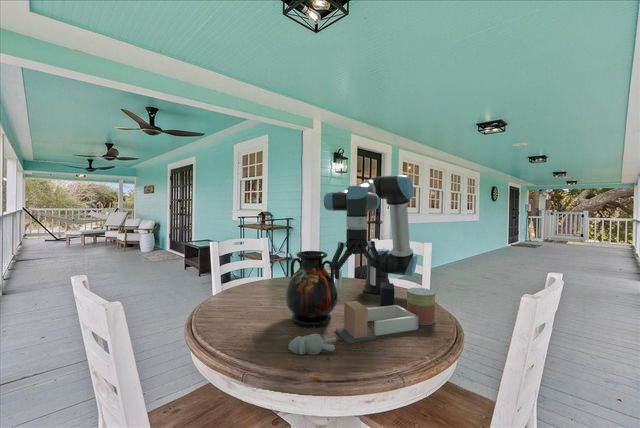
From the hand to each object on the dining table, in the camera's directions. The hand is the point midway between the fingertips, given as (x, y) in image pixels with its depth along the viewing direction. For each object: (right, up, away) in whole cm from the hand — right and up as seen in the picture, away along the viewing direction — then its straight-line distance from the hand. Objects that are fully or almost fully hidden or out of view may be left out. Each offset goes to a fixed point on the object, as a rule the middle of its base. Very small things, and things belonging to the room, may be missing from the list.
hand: (356, 286), depth 111 cm
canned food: (+29, -18, +16) cm, 38 cm away
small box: (+18, -18, +32) cm, 41 cm away
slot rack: (+14, -18, +10) cm, 25 cm away
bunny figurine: (-16, -19, -13) cm, 27 cm away
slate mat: (0, -18, 0) cm, 18 cm away
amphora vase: (-17, -18, +14) cm, 28 cm away
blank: (0, -17, 0) cm, 17 cm away
